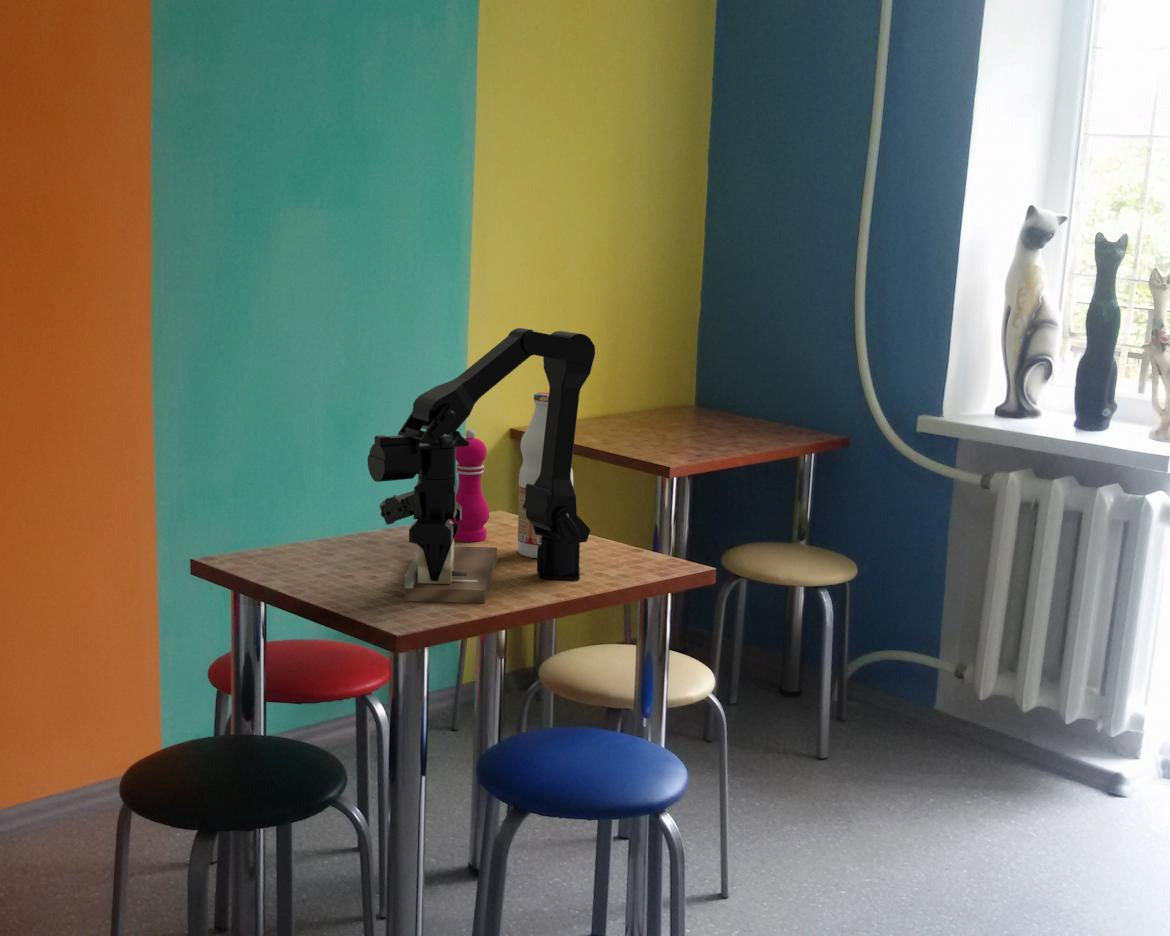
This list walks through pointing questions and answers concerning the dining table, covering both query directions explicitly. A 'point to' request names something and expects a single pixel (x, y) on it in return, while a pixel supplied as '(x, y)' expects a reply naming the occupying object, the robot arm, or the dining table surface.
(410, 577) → the walnut board
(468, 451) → the pepper mill
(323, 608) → the dining table surface
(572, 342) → the robot arm
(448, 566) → the beige block
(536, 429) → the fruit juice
